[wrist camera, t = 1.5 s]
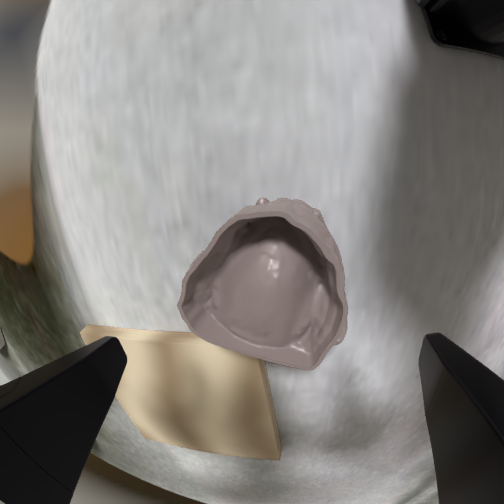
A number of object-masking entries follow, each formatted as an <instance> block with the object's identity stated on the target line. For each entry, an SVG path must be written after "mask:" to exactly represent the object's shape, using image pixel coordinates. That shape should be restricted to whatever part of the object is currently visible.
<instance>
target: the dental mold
mask: <svg viewBox="0 0 504 504" xmlns="http://www.w3.org/2000/svg"><path fill="white" fill-rule="evenodd" d="M344 285H345V274H344V268H343V265H342V259H341V255H340V252H339V249H338V246H337V245H336V242H335V240H334V238H333V237H332V235H331V234H330V232H329V231H328V229H327V227H326V225H325V222H324V220H323V217H322V215H321V212H320V211H319V210H318V209H315V208H312V207H310V206H309V205H308V204H306V203H305V202H303V201H301V200H297V199H293V200H291V199H287V198H279V199H277V200H276V201H273V202H270V201H268V200H267V199H266V198H264V197H263V198H260V199H258V201H257V203H256V206H247V207H245V208H243V209H242V210H241V211H239V212H238V213H237V214H235V215H234V216H233V217H232V218H230V219H229V220H228V221H227V222H226V223H225V224H224V225H223V226H222V227H221V228H220V229H219V230H218V231H217V232H216V234H215V235H214V237H213V239H212V241H211V242H210V244H209V245H208V247H207V248H206V250H205V251H202V252H201V253H200V254H199V255H198V256H197V257H196V259H195V260H194V261H193V263H192V264H191V266H190V268H189V270H188V271H187V273H186V275H185V277H184V279H183V281H182V292H181V297H180V300H179V302H178V304H177V307H178V309H179V311H180V314H181V317H182V319H183V320H184V321H185V322H186V323H187V325H188V327H189V329H190V330H191V331H192V332H193V333H194V334H195V335H196V336H198V337H200V338H201V339H203V340H205V341H206V342H209V343H211V344H214V345H217V346H220V347H223V348H225V349H228V350H231V351H234V352H238V353H242V354H245V355H248V356H251V357H254V358H259V359H262V360H265V361H268V362H272V363H277V364H281V365H285V366H290V367H294V368H299V369H305V370H313V369H315V368H316V367H318V366H319V365H320V363H321V362H322V360H323V359H324V357H325V355H326V354H327V352H328V351H329V350H330V348H331V347H332V346H333V345H338V344H340V343H341V342H342V341H343V339H344V337H345V335H346V332H347V314H348V305H347V300H346V295H345V291H344Z"/></svg>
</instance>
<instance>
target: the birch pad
mask: <svg viewBox="0 0 504 504" xmlns="http://www.w3.org/2000/svg"><path fill="white" fill-rule="evenodd" d="M80 334H81V336H82V338H83V340H84V342H85V344H86V345H88V344H90V343H92V342H94V341H96V340H99V339H101V338H103V337H105V336H114V337H117V338H118V339H119V341H120V343H121V345H122V347H123V349H124V351H125V353H126V355H127V365H126V367H125V370H124V373H123V375H122V378H121V381H120V384H119V386H118V389H117V392H116V395H115V396H116V398H117V400H118V401H119V403H120V404H121V406H122V407H123V409H124V410H125V412H126V413H127V414H128V416H129V417H130V419H131V420H132V422H133V423H134V424H135V426H136V427H137V429H138V430H139V431H140V433H141V434H142V435H143V437H144V438H147V439H150V440H154V441H158V442H162V443H166V444H170V445H174V446H179V447H183V448H188V449H193V450H198V451H204V452H210V453H216V454H223V455H230V456H238V457H247V458H257V459H270V460H280V457H281V452H282V448H281V443H280V438H279V432H278V427H277V422H276V417H275V412H274V407H273V402H272V397H271V391H270V386H269V381H268V376H267V371H266V365H265V360H262V359H259V358H254V357H251V356H248V355H245V354H242V353H238V352H234V351H231V350H228V349H225V348H223V347H220V346H217V345H214V344H211V343H209V342H206V341H205V340H203V339H201V338H200V337H198V336H196V335H195V334H194V333H188V332H167V331H151V330H138V329H126V328H115V327H105V326H96V325H87V326H86V327H85V328H84V329H83V330H82V331H81V332H80Z"/></svg>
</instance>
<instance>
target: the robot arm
mask: <svg viewBox="0 0 504 504" xmlns="http://www.w3.org/2000/svg"><path fill="white" fill-rule="evenodd" d="M416 2H417V4H418V5H419V6H420V7H421V8H422V11H423V14H424V16H425V19H426V22H427V26H428V29H429V32H430V35H431V38H432V40H433V41H434V42H435V43H436V44H437V45H439V46H443V47H449V48H455V49H461V50H467V51H472V52H476V53H481V54H485V55H489V56H493V57H497V58H501V59H504V0H416ZM438 33H439V34H441V35H442V36H443V38H444V40H443V39H441V38H440V37H439V36H438ZM126 365H127V355H126V353H125V351H124V349H123V347H122V345H121V343H120V341H119V339H118V338H117V337H114V336H105V337H103V338H101V339H99V340H96V341H94V342H92V343H90V344H88V345H86V346H84V347H82V348H80V349H78V350H76V351H74V352H72V353H70V354H67V355H65V356H63V357H61V358H59V359H57V360H55V361H53V362H51V363H49V364H47V365H45V366H42V367H40V368H38V369H36V370H34V371H32V372H30V373H28V374H26V375H23V377H19V378H17V379H15V380H13V381H10V382H8V383H6V384H4V385H1V386H0V504H70V502H71V499H72V497H73V493H74V491H75V488H76V486H77V483H78V480H79V478H80V476H81V473H82V470H83V468H84V466H85V463H86V461H87V458H88V456H89V454H90V451H91V449H92V447H93V444H94V442H95V440H96V438H97V435H98V433H99V431H100V428H101V426H102V424H103V422H104V420H105V417H106V415H107V413H108V411H109V409H110V407H111V404H112V402H113V400H114V397H115V395H116V392H117V389H118V386H119V384H120V381H121V378H122V375H123V373H124V370H125V367H126ZM419 370H420V376H421V384H422V391H423V400H424V409H425V416H426V421H427V426H428V431H429V436H430V441H431V447H432V452H433V459H434V465H435V472H436V479H437V488H438V497H439V504H504V380H503V379H502V378H500V377H499V376H498V375H496V374H495V373H494V372H492V371H491V370H490V369H489V368H487V367H486V366H485V365H483V364H482V363H481V362H479V361H478V360H477V359H475V358H474V357H473V356H471V355H470V354H469V353H467V352H466V351H464V350H463V349H462V348H460V347H459V346H458V345H456V344H455V343H454V342H452V341H451V340H449V339H448V338H447V337H445V336H444V335H442V334H441V333H431V334H426V335H425V337H424V339H423V343H422V348H421V352H420V356H419Z"/></svg>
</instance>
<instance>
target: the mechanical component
mask: <svg viewBox="0 0 504 504" xmlns="http://www.w3.org/2000/svg"><path fill="white" fill-rule="evenodd" d="M4 345H5V341H4V337H3V334H2V332H1V329H0V349H1V348H2V347H4Z"/></svg>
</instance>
